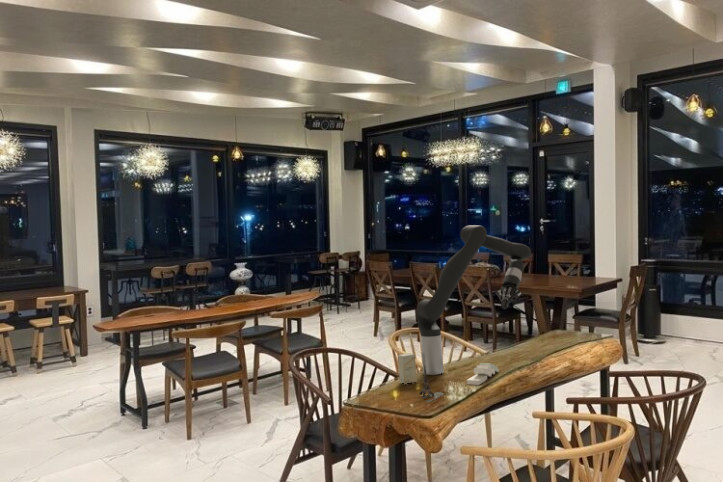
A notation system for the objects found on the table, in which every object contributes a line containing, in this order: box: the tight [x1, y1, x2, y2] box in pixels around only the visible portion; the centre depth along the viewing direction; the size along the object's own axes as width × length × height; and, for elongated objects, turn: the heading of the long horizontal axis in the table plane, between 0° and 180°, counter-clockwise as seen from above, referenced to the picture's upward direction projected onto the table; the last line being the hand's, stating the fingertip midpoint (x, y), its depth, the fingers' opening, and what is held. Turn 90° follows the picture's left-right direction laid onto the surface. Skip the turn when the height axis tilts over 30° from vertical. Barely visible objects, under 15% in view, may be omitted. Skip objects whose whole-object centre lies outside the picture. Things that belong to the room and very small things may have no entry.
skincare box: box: [397, 352, 418, 385], centre depth 242 cm, size 6×4×12 cm
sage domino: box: [479, 362, 500, 373], centre depth 247 cm, size 2×5×10 cm
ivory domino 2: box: [466, 373, 488, 386], centre depth 235 cm, size 2×5×10 cm
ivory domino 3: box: [475, 364, 496, 375], centre depth 243 cm, size 2×5×10 cm
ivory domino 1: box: [473, 367, 493, 378], centre depth 239 cm, size 2×5×10 cm
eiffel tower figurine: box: [418, 363, 445, 403], centre depth 219 cm, size 15×10×13 cm
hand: (503, 307), depth 262 cm, fingers closed
